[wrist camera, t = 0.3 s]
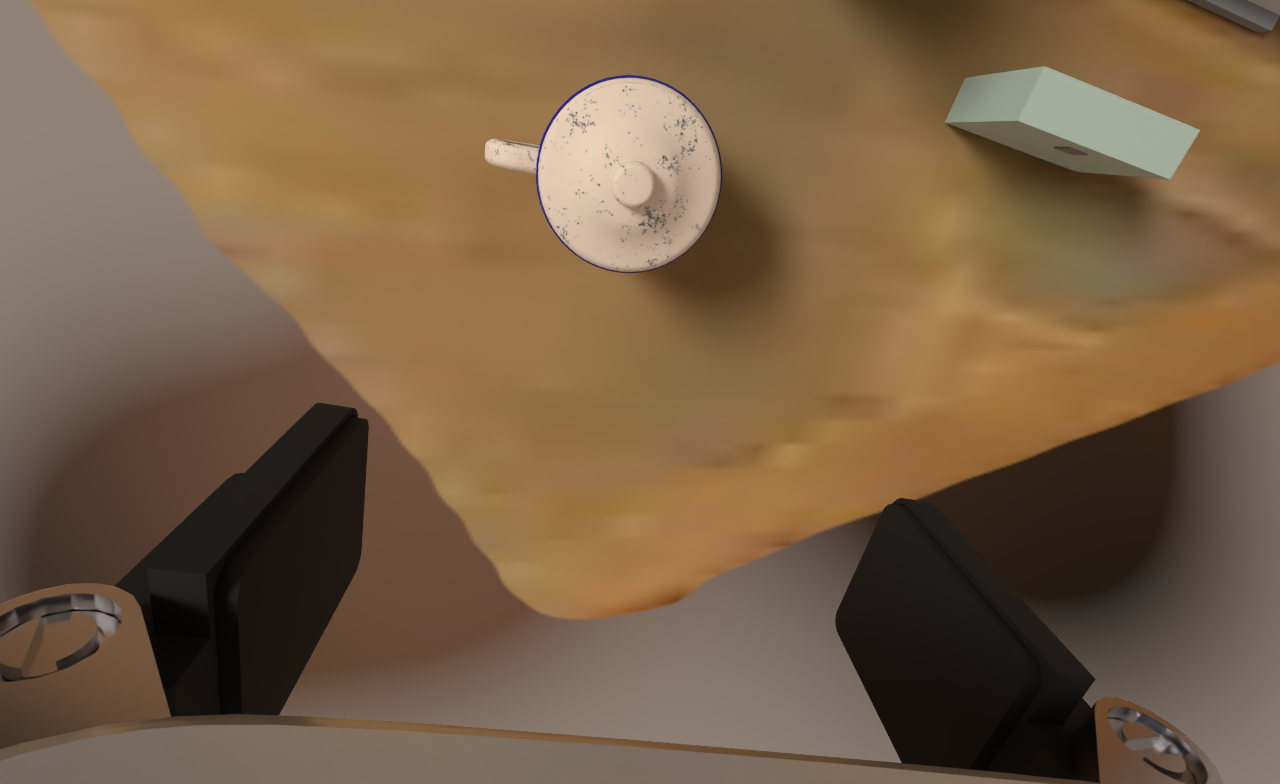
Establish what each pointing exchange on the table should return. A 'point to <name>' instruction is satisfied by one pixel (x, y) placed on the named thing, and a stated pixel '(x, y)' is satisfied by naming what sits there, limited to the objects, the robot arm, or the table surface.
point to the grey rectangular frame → (1245, 12)
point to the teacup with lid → (623, 173)
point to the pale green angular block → (1071, 123)
